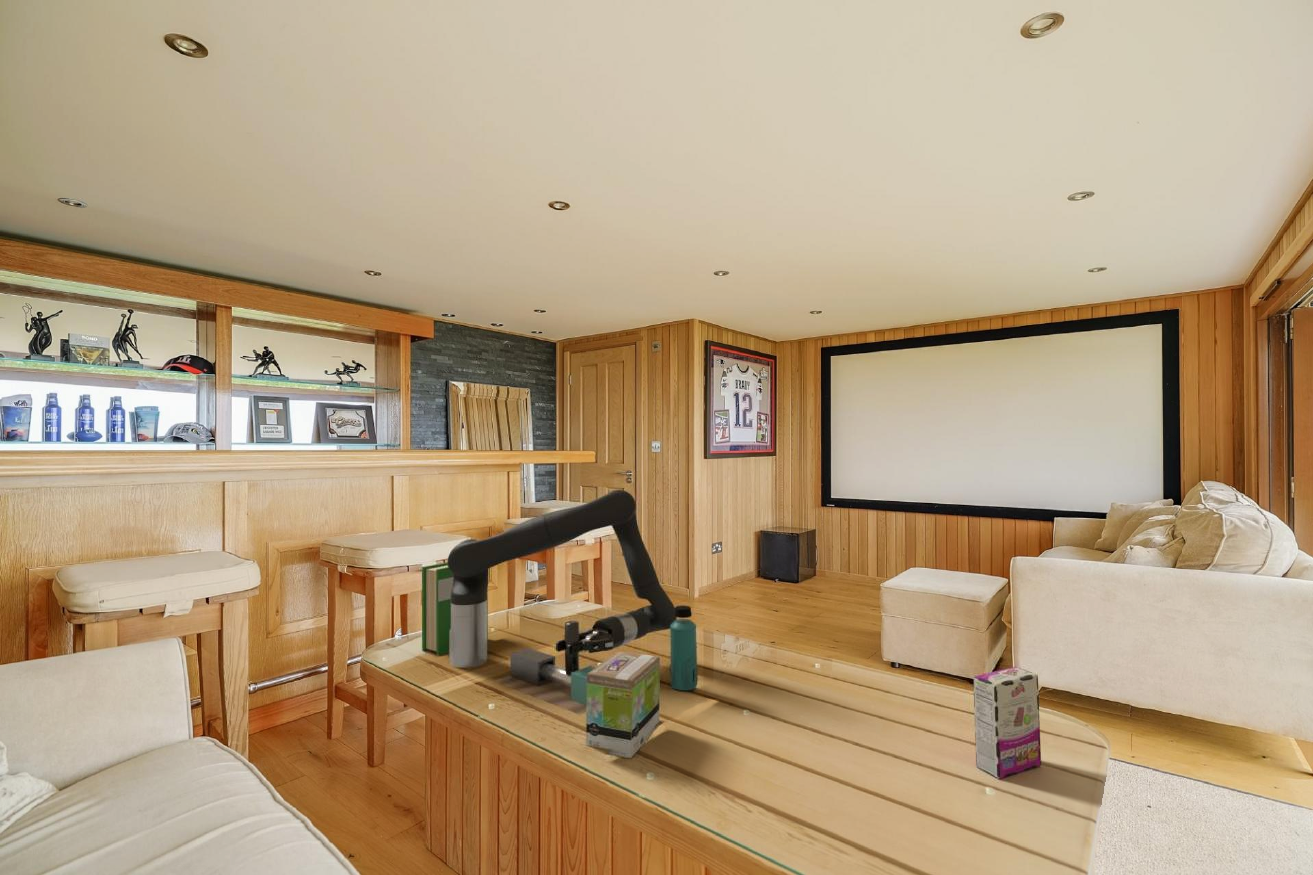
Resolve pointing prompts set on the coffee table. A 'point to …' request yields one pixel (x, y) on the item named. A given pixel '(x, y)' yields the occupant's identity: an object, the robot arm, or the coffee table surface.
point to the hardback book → (437, 607)
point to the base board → (546, 693)
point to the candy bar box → (1007, 722)
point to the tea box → (623, 702)
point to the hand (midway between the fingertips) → (562, 648)
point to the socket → (580, 685)
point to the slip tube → (571, 661)
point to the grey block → (529, 665)
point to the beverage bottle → (683, 650)
